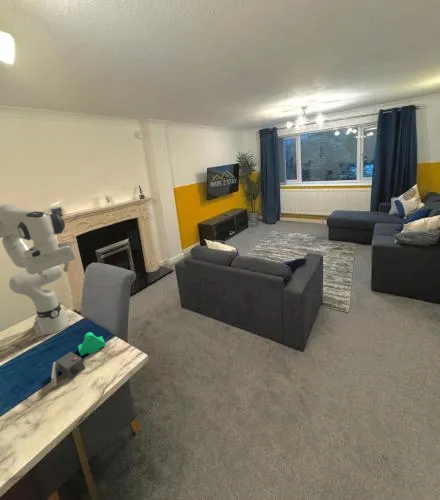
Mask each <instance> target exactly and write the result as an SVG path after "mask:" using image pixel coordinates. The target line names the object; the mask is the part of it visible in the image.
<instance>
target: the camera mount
mask: <svg viewBox="0 0 440 500" xmlns="http://www.w3.org/2000/svg"><path fill="white" fill-rule="evenodd" d="M84 334H85V335H84V336H83V339H84V340H83V342H82V343H80V344H79V345H78V346H77V348H78V352H79V355H80V357H81V356H84V355H86V354H89V355H90V354H92V353H95V352H98V351H99V349H100V348H103V347H106V342H105V339H104V338H103V336H102V335H101V336H98V337H97V336H96V335H95V334H94V333H93V332H89V331H88V332H87V333H84Z"/></svg>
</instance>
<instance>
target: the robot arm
mask: <svg viewBox="0 0 440 500" xmlns="http://www.w3.org/2000/svg"><path fill="white" fill-rule="evenodd" d="M65 228H66V223H65V220H64V218H62V217H61V216H60V215H58V214H56V213H50V214H49V213H45V212H43V211H36V210H30V209H26V208H20V207H17V206H16V205H11V204H0V238H2V241H1V242H2V246H3V248H4V250H5V252H6V254H7V255H8V257H9V258H10V261H12V263H13V264H14V265H15V266H16V267H18V268H21V269H25V271H23V272H20V273H17V274H16V275H14V276H12V277H10V279H9V284H8V285H9V288H10V290H11V291H12V292H13V293H15V294H17V295H18V294H19V295H23V296H27V297H28V298H30V300H31V301H32V302H33V305H34V306H35V309H36V312H35V313H36V316H35V318H34V320H35V321H34V322H33V325H32V328H33V330H34V331H35V333H36V335H37V336H38V337H42V336H45V335H46V336H47V335H53V334H56V333H57V332H60V331H62V330H64V329H65V328H66V327H67V326H68V325H69V322H70V321H71V320H72V318H71V317H69V316H68V314H67V312H66V311H65V309H64V308H62V306H61V304H60V302H59V301H58V298H57V295H56V293H55V291H53V290H50V289H42V287H43V286H45V285H49V284H51V283H54V282H55V281H57V280H58V279H60V278H62V275H63V272H64V273H66V272H68V271H69V265H70V263H69V262H71V261H75V259H76V255H75V252H74V250H73V246H72V244H71V242H67V241H65V242H62V243H58V241H57V239H56V237H55V235H59V234H62V233H63V232H64V230H65ZM28 241H32V244H33V246H31V245H30V244H29V243H28ZM63 264H64V267H63V268H62V267H61V265H63Z"/></svg>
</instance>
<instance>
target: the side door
mask: <svg viewBox="0 0 440 500" xmlns="http://www.w3.org/2000/svg"><path fill="white" fill-rule="evenodd" d="M58 374H59V368H58V365H57V363H56V361H53V362H52V370H51V377H50V379H51V380H50V383H51V386H52V385H53V386H54V387H57V385H58V384H57V383H58V376H59V375H58Z"/></svg>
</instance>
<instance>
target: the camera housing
mask: <svg viewBox="0 0 440 500" xmlns="http://www.w3.org/2000/svg"><path fill="white" fill-rule="evenodd" d="M55 362H56V365H57V367H58V372H60V373H61V374H63V375H64V376H66V377H67V378H69V379H70V380H72V379H73V378H75V377H76V376H77V375H79V374H81V373H82V371H84V370H85V369H86V367H85V363H84V361H83V358H82V357H81V356H79V355H77V354H75V353H74V352H72V351H69V352H68V353H67V354H64V355H63V356H62V357H60V358H58V359H57V360H56V361H55Z"/></svg>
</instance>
